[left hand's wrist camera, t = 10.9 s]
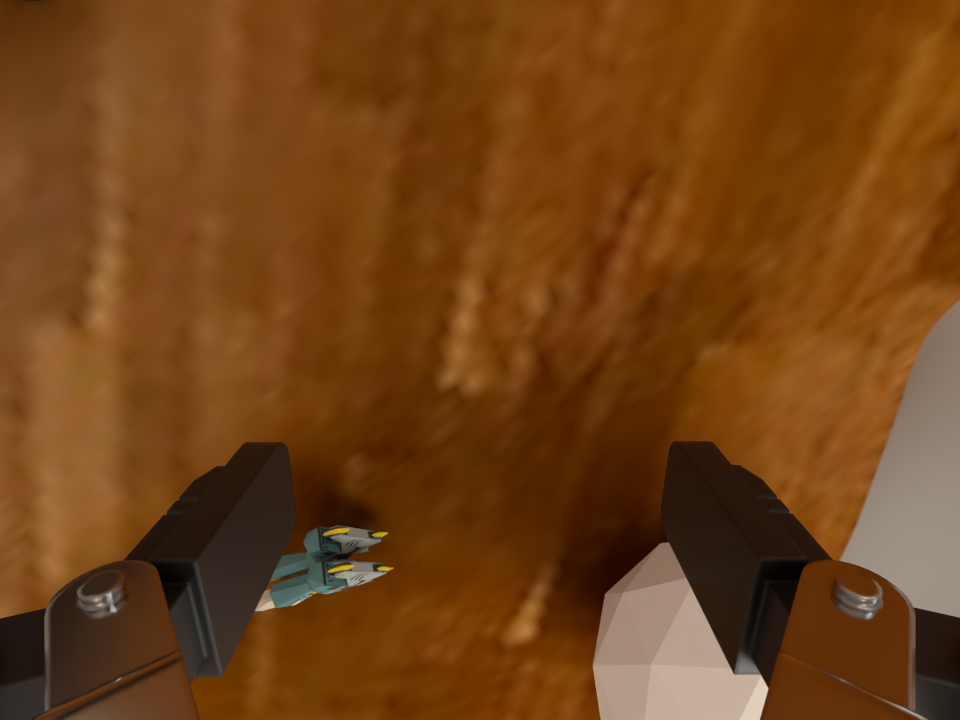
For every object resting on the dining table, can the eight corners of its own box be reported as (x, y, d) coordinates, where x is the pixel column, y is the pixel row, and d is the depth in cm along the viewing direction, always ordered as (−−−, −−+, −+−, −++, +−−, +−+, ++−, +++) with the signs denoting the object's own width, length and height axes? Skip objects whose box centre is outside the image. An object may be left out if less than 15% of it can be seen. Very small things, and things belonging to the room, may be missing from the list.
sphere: (672, 572, 55) (698, 828, 44) (539, 522, 44) (531, 844, 34) (890, 550, 42) (999, 898, 32) (778, 474, 32) (886, 960, 21)
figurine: (351, 599, 35) (18, 705, 42) (407, 595, 43) (115, 686, 49) (337, 494, 39) (28, 607, 45) (391, 506, 46) (119, 602, 52)
